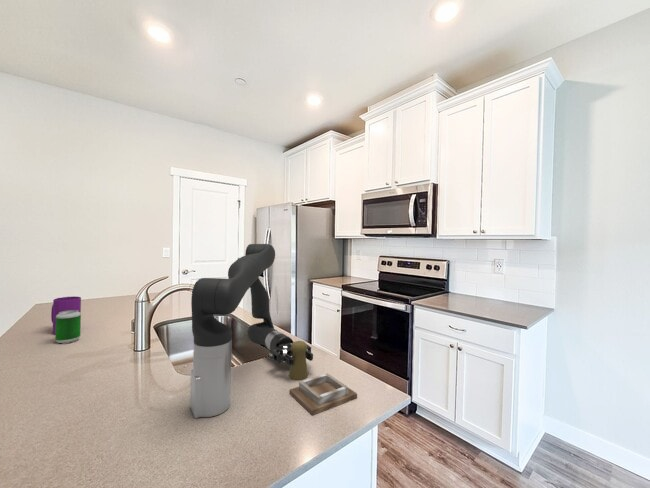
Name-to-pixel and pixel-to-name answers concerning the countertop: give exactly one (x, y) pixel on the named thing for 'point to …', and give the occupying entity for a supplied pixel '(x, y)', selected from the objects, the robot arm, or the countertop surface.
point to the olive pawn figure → (298, 361)
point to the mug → (64, 307)
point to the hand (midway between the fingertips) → (302, 359)
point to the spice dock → (321, 393)
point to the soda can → (68, 326)
